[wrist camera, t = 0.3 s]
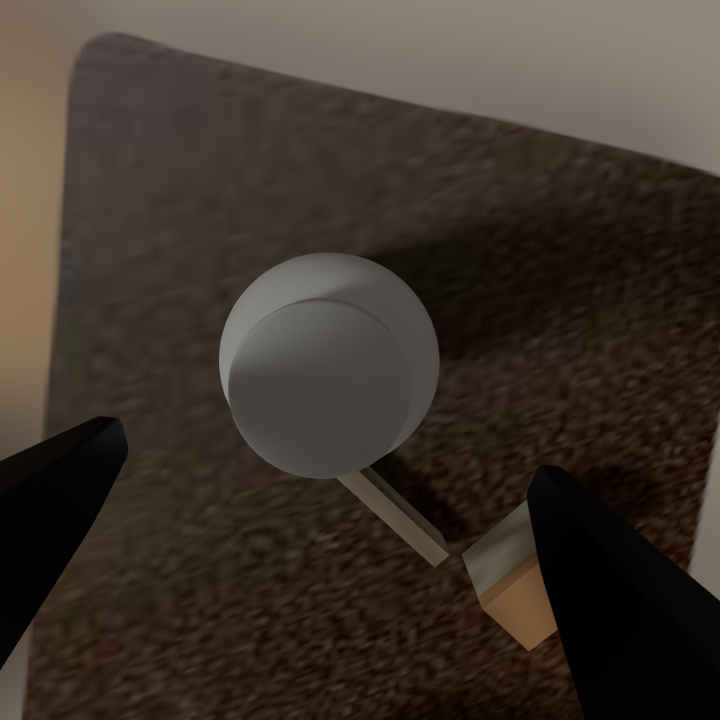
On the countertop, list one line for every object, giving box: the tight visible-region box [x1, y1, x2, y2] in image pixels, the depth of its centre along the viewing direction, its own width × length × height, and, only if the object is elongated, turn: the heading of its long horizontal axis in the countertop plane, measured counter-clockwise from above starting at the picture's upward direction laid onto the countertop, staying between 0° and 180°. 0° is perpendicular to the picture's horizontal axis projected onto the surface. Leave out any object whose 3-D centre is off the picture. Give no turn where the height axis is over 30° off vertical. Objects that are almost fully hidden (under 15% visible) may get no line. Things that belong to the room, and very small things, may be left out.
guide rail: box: [337, 466, 449, 567], centre depth 24 cm, size 1×14×2 cm, turn 45°
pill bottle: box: [219, 253, 440, 479], centre depth 16 cm, size 8×7×14 cm
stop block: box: [462, 500, 558, 651], centre depth 24 cm, size 8×4×4 cm, turn 135°
